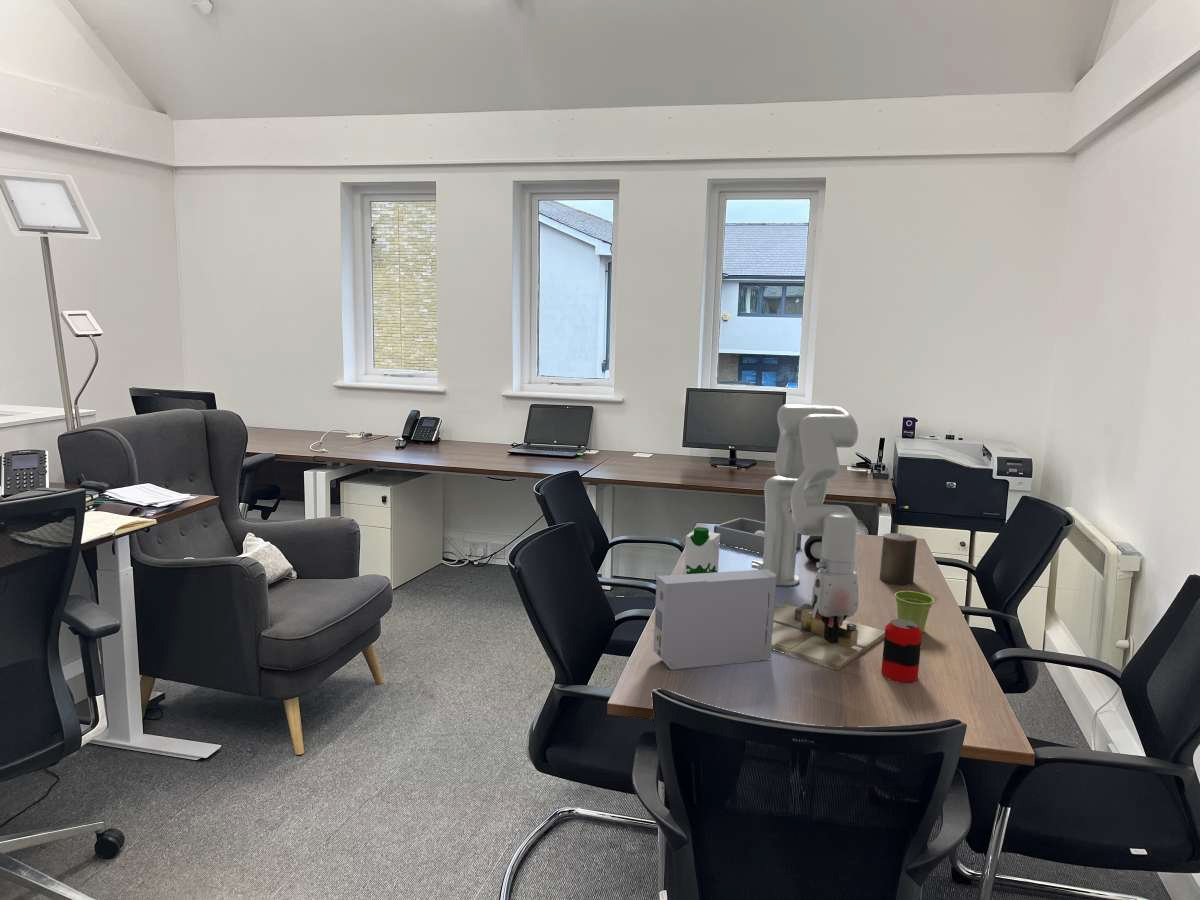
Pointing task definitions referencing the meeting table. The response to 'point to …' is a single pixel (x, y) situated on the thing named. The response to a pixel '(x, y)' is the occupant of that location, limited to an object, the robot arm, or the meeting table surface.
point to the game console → (714, 618)
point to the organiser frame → (744, 534)
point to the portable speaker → (813, 548)
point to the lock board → (817, 639)
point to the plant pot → (913, 607)
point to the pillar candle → (898, 558)
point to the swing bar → (808, 623)
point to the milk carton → (701, 551)
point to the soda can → (901, 651)
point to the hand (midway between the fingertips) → (830, 641)
